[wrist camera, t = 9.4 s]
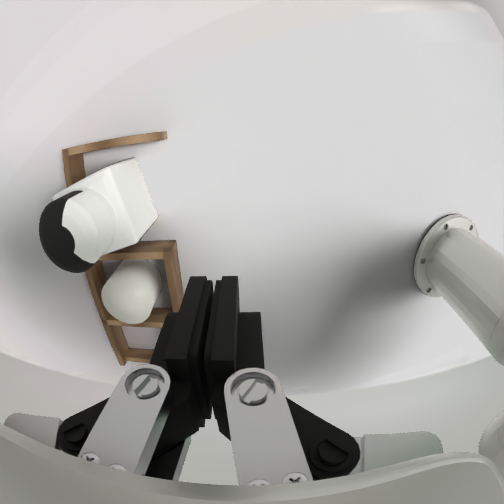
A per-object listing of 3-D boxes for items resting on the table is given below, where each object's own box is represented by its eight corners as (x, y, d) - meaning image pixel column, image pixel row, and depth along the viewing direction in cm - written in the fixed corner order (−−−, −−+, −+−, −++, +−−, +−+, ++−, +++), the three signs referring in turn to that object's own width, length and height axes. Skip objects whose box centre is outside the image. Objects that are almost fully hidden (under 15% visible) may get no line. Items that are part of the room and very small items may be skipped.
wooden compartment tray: (166, 131, 25) (158, 132, 22) (194, 355, 38) (192, 370, 35) (76, 146, 25) (62, 149, 22) (125, 351, 37) (120, 365, 35)
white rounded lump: (157, 256, 31) (144, 278, 26) (165, 299, 33) (156, 325, 29) (112, 257, 31) (95, 278, 26) (123, 298, 33) (109, 322, 29)
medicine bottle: (108, 236, 29) (55, 291, 19) (85, 180, 26) (17, 214, 16) (160, 217, 29) (117, 271, 18) (137, 155, 26) (76, 178, 15)
